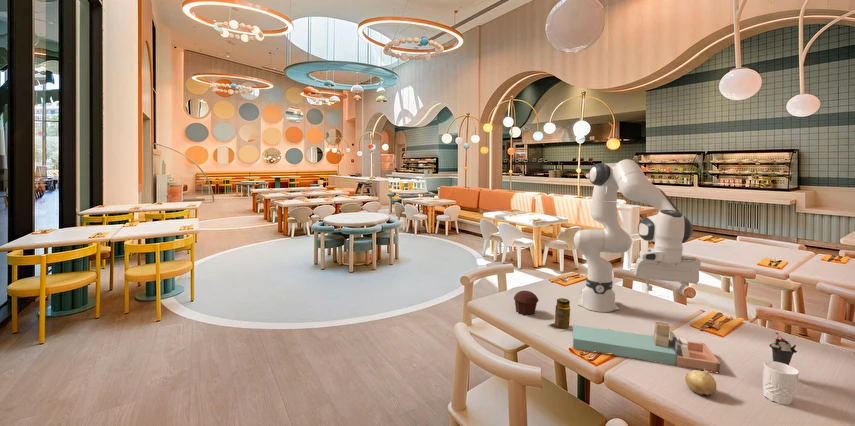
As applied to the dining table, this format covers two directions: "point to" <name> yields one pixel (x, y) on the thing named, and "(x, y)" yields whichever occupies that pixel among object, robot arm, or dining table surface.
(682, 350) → the tile
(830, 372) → the dining table surface
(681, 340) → the tile
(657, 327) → the scraper
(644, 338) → the board
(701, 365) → the tray
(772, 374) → the white cup
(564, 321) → the condiment
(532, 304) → the muffin
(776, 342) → the sundae
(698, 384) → the tan oval lump
